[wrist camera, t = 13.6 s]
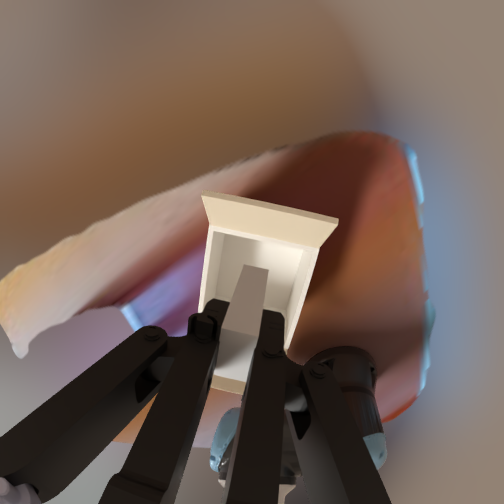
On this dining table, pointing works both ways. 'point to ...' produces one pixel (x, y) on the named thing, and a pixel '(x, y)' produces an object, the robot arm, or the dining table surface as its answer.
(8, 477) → the robot arm
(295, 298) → the carton
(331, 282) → the dining table surface
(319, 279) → the dining table surface
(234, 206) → the near flap
